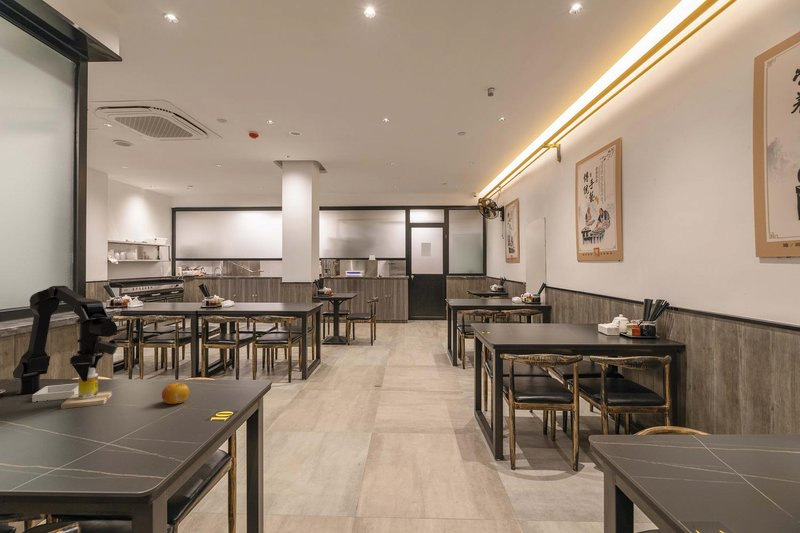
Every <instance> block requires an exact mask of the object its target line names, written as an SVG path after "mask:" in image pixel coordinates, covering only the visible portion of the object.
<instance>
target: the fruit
mask: <svg viewBox="0 0 800 533" xmlns="http://www.w3.org/2000/svg"><path fill="white" fill-rule="evenodd" d="M189 395H190V388H189V386H188V385H187V384H185V383H179V382H173V383H169V384H168V385H166V386H164V388H163V390H162V393H161V398H162V399H161V400H163V402H164V403H165V404H167V405H177V403H178V404H181V403H184V402H185V401H186V400H187V399H188V397H189Z"/></svg>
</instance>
